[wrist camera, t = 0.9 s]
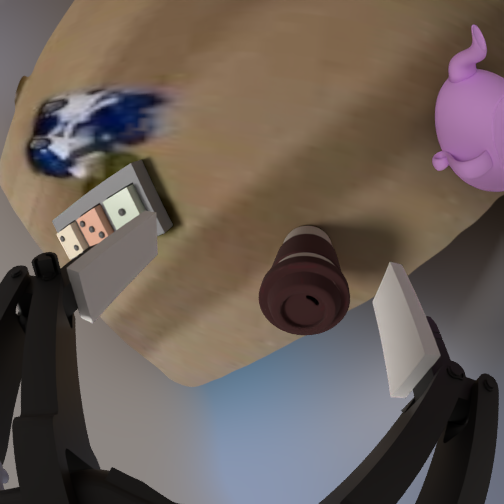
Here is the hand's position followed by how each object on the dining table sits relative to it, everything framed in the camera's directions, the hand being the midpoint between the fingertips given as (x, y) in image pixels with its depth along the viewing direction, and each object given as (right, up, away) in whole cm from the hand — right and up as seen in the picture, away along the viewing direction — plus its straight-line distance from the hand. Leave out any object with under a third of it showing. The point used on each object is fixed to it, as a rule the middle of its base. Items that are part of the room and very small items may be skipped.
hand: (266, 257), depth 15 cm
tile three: (-28, +6, +30) cm, 41 cm away
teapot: (+30, +20, +11) cm, 37 cm away
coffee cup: (+7, +1, +26) cm, 27 cm away
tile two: (-35, +3, +33) cm, 48 cm away
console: (-28, +6, +31) cm, 42 cm away
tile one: (-20, +8, +27) cm, 35 cm away
